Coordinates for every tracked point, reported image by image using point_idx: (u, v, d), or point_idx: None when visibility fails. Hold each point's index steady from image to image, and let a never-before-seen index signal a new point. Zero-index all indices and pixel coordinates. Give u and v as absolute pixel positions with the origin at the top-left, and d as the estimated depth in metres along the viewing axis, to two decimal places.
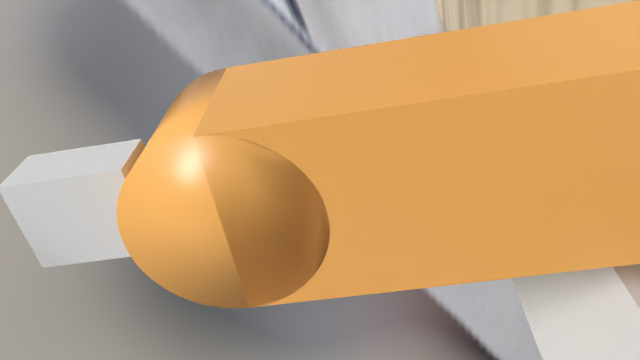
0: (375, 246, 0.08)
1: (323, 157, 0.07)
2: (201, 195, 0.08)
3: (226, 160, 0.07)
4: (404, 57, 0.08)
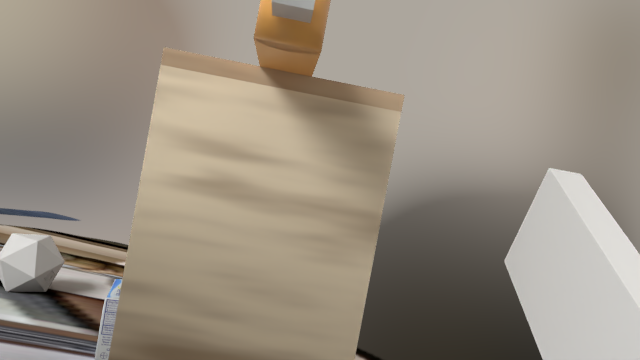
0: None
1: None
2: None
3: None
4: None
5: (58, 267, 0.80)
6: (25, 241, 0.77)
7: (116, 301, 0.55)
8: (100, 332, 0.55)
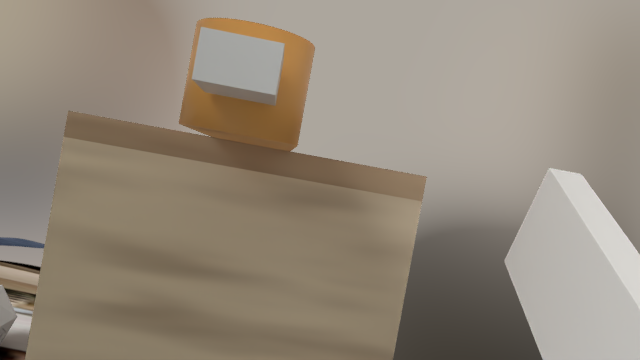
0: None
1: None
2: None
3: None
4: None
5: (9, 323, 0.69)
6: None
7: None
8: None
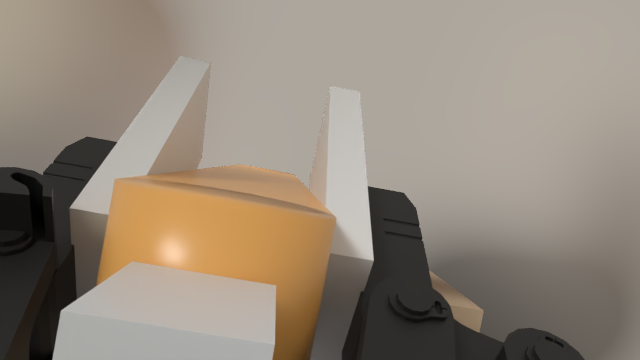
0: (274, 196, 0.10)
1: (181, 181, 0.09)
2: (181, 190, 0.07)
3: (155, 182, 0.08)
4: None
5: None
6: None
7: None
8: None
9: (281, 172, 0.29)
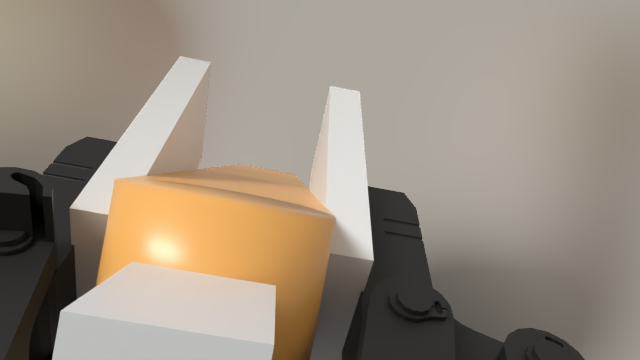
0: (274, 196, 0.10)
1: (181, 181, 0.09)
2: (181, 190, 0.07)
3: (155, 182, 0.08)
4: None
5: None
6: None
7: None
8: None
9: (281, 172, 0.29)
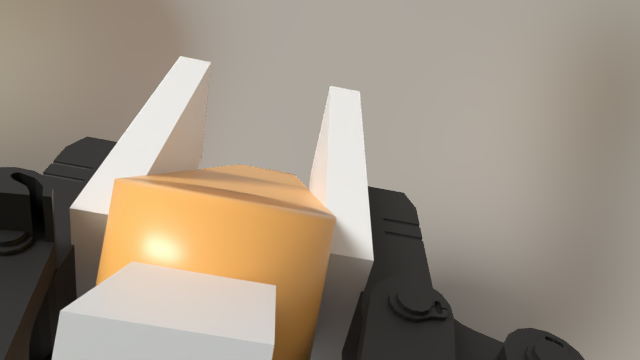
0: (274, 196, 0.10)
1: (181, 181, 0.09)
2: (182, 190, 0.07)
3: (155, 182, 0.08)
4: None
5: None
6: None
7: None
8: None
9: (281, 172, 0.29)
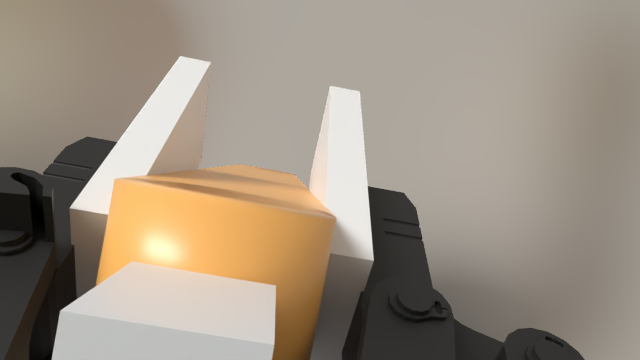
0: (274, 196, 0.10)
1: (181, 180, 0.09)
2: (182, 190, 0.07)
3: (155, 182, 0.08)
4: None
5: None
6: None
7: None
8: None
9: (281, 172, 0.29)
